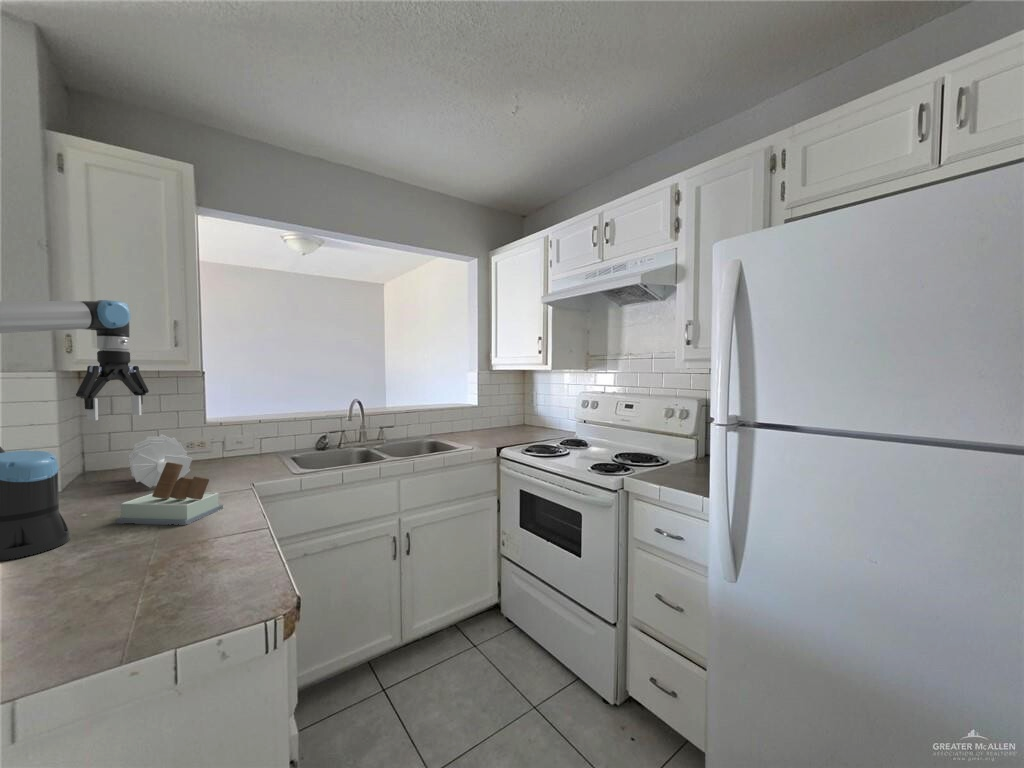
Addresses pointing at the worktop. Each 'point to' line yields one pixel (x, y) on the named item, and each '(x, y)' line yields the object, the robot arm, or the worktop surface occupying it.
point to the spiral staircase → (157, 459)
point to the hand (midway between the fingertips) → (115, 417)
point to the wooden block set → (179, 484)
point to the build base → (168, 509)
